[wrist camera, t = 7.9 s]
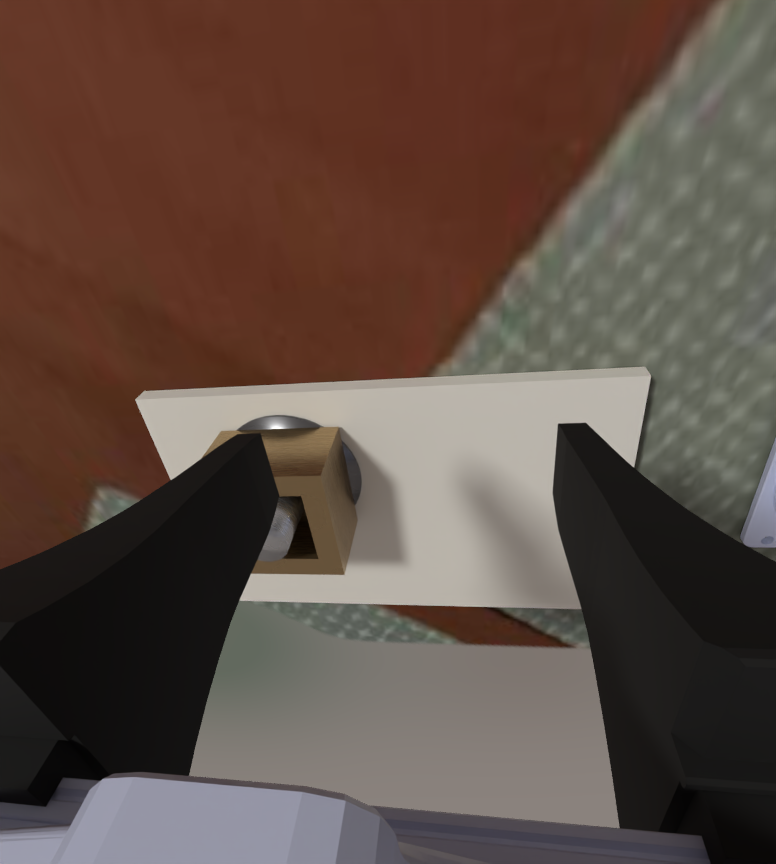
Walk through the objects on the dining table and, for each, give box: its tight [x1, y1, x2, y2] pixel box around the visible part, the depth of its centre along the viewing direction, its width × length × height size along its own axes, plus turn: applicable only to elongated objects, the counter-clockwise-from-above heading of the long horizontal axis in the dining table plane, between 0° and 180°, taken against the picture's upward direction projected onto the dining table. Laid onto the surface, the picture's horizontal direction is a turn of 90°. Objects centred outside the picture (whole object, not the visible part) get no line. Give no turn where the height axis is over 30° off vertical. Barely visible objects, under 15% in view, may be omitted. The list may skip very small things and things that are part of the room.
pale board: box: [135, 367, 651, 609], centre depth 25 cm, size 22×14×1 cm, turn 96°
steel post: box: [237, 415, 362, 562], centre depth 22 cm, size 7×7×4 cm
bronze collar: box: [201, 427, 358, 575], centre depth 23 cm, size 6×6×4 cm
